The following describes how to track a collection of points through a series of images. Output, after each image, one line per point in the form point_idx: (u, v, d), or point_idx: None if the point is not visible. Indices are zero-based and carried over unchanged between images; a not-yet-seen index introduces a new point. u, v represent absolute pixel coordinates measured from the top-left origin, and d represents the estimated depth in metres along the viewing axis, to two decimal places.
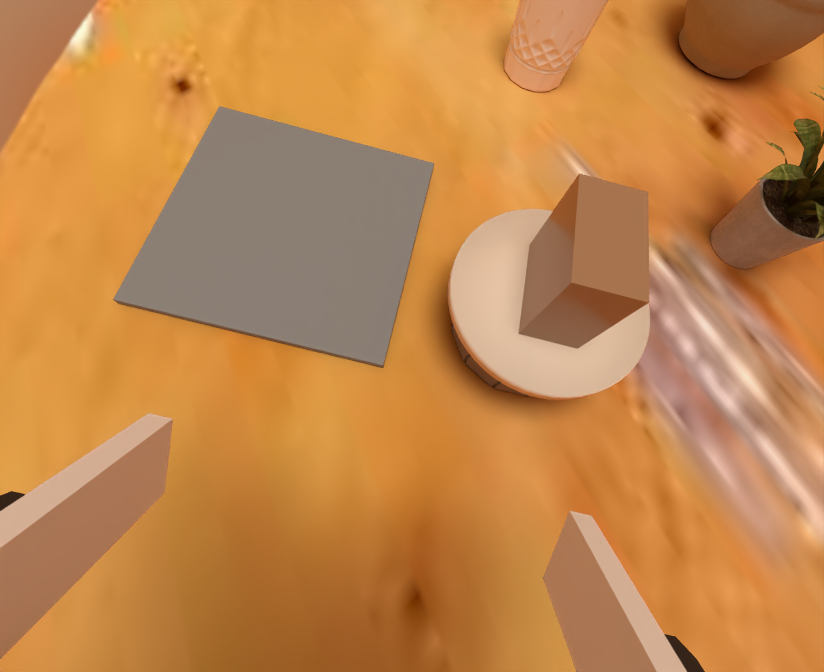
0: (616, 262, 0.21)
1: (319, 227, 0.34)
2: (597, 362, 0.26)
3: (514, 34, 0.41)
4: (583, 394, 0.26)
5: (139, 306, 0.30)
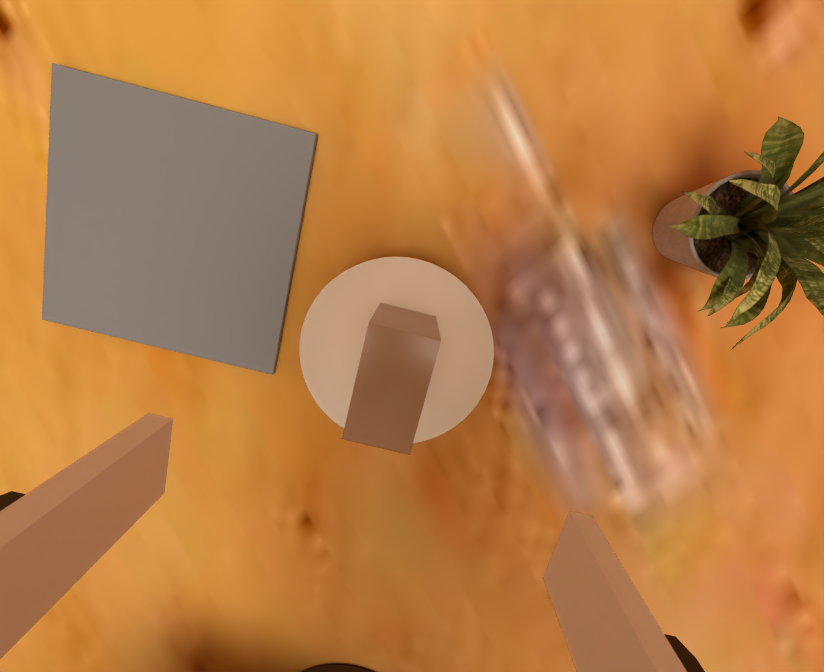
0: (387, 419, 0.23)
1: (197, 235, 0.33)
2: (427, 418, 0.31)
3: None
4: None
5: None
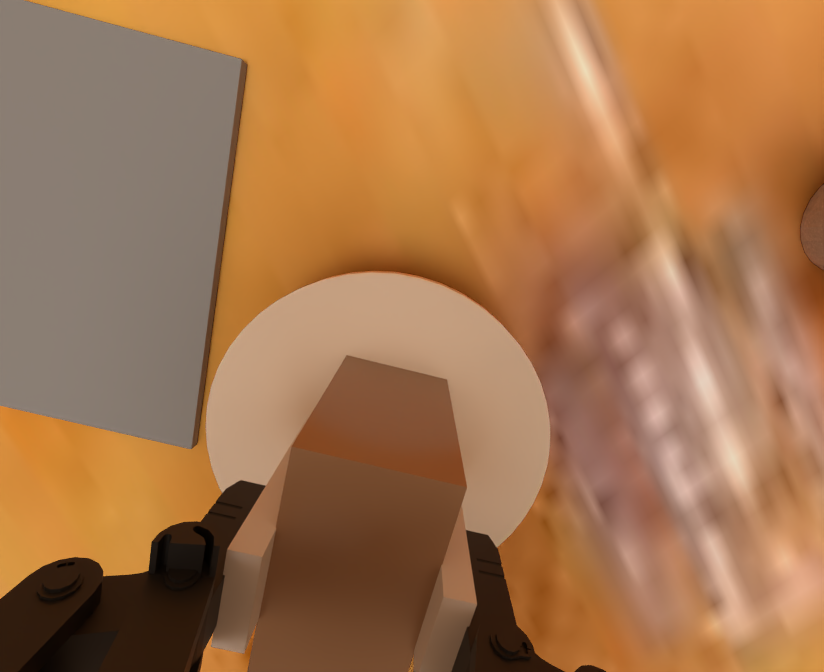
0: (344, 647, 0.10)
1: (56, 233, 0.20)
2: None
3: None
4: None
5: None
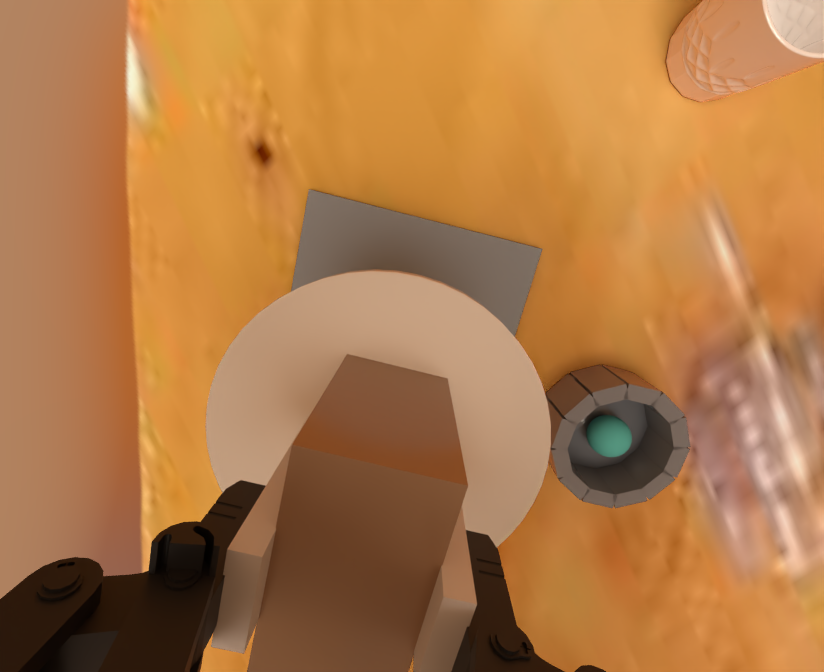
0: (345, 646, 0.10)
1: None
2: None
3: (693, 39, 0.28)
4: None
5: None
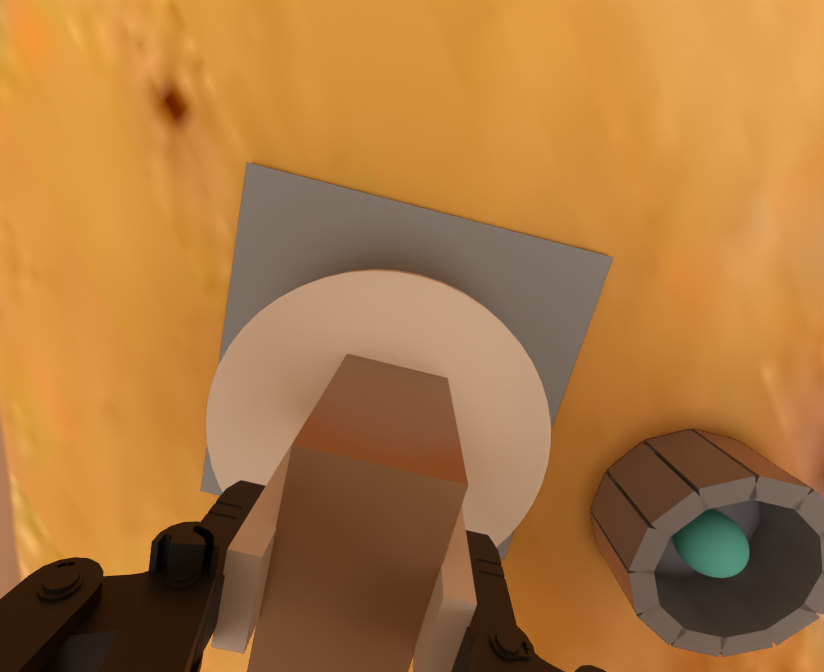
0: (345, 645, 0.10)
1: None
2: None
3: None
4: None
5: None
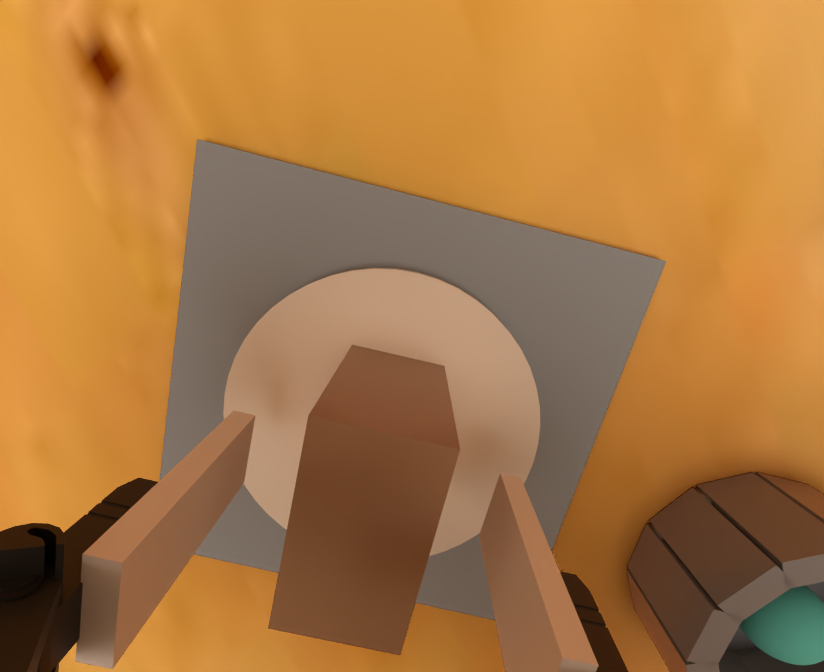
0: (355, 595, 0.12)
1: None
2: None
3: None
4: None
5: None
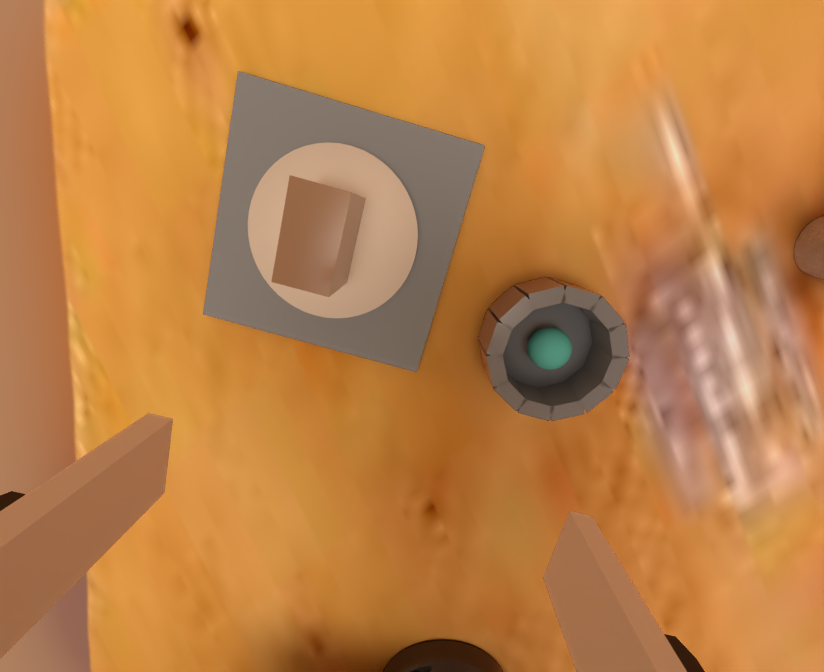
0: (309, 264, 0.27)
1: None
2: (361, 293, 0.35)
3: None
4: (346, 317, 0.36)
5: (223, 319, 0.37)
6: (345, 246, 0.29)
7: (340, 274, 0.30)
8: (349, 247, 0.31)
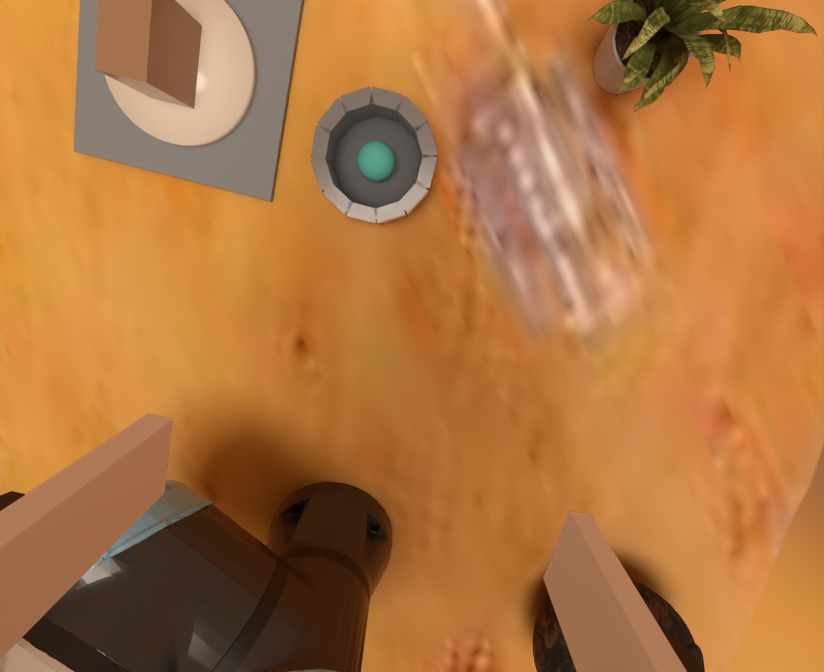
0: (125, 51, 0.32)
1: None
2: (207, 119, 0.39)
3: None
4: (197, 143, 0.40)
5: (93, 155, 0.41)
6: (167, 46, 0.33)
7: (168, 77, 0.34)
8: (180, 59, 0.35)
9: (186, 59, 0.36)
